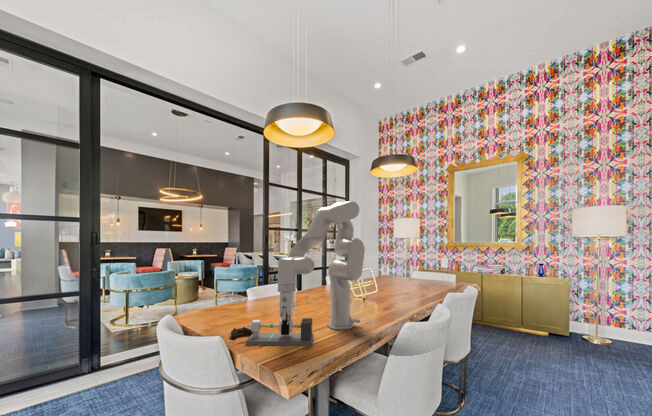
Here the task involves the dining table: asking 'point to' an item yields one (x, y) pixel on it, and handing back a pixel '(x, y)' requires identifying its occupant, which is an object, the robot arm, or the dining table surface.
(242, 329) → the game controller
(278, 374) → the dining table surface
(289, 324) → the sleeve
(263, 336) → the board
